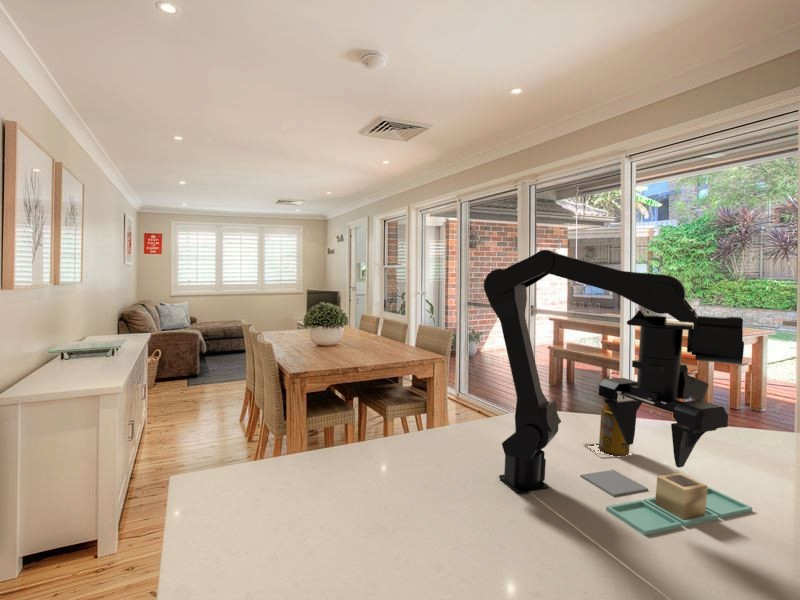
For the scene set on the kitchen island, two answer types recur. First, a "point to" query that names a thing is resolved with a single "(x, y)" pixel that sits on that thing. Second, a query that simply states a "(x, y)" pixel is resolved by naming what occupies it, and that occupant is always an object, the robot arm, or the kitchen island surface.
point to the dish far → (724, 504)
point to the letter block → (681, 495)
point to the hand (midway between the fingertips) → (653, 454)
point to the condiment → (610, 436)
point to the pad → (613, 483)
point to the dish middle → (708, 517)
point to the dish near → (643, 517)
